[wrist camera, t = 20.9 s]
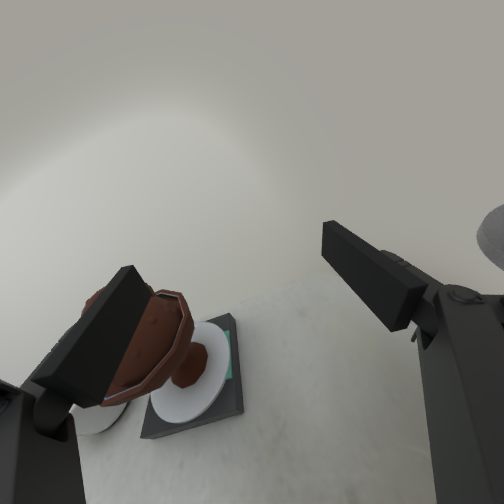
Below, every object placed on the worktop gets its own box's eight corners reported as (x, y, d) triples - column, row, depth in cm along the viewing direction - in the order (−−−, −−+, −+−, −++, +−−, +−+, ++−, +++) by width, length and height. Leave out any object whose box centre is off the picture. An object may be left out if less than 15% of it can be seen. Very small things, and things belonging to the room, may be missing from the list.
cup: (153, 349, 31) (116, 330, 26) (158, 396, 25) (112, 383, 20) (92, 395, 29) (38, 383, 24) (82, 459, 23) (7, 461, 18)
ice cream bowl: (140, 376, 25) (16, 331, 16) (198, 311, 30) (131, 248, 20) (174, 448, 18) (-11, 446, 9) (242, 349, 23) (171, 278, 14)
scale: (235, 319, 30) (227, 310, 28) (244, 412, 21) (234, 409, 19) (172, 341, 31) (160, 334, 29) (153, 439, 22) (135, 438, 20)
